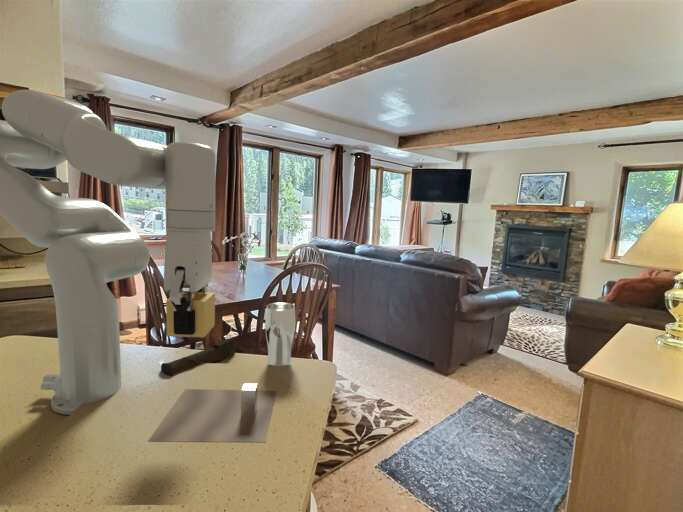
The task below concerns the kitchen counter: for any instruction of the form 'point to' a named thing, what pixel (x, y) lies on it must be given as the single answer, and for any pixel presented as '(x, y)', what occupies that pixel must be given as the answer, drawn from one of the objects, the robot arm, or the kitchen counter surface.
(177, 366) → the hand tool
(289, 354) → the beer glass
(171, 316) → the collar
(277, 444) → the kitchen counter surface
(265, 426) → the post board
